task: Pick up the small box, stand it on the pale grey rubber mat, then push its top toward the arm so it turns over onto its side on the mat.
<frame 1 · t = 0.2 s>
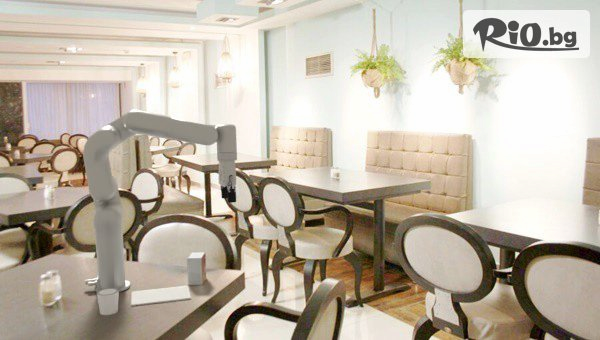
hand: (228, 200, 204), 30 cm above the table, tool pointing down, fingers open, 9 cm apart
mat: (160, 295, 187), on the table
shot glass: (109, 312, 173), on the table
small box: (197, 282, 201), on the table
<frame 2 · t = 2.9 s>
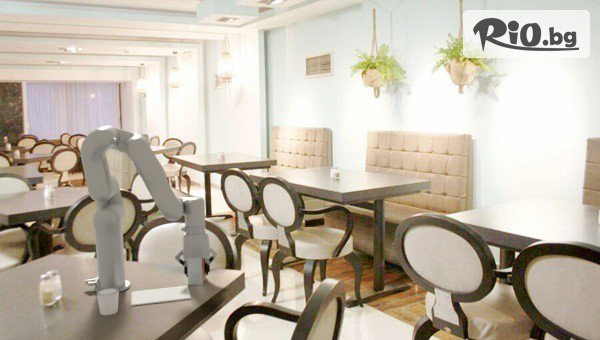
hand: (197, 274, 201), 3 cm above the table, tool pointing down, fingers closed on small box, 6 cm apart
small box: (197, 282, 201), on the table, touching gripper
everything else where it was.
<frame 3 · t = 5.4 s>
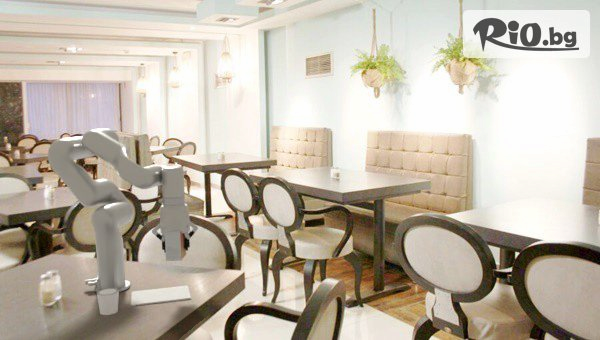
hand: (176, 250, 186), 16 cm above the table, tool pointing down, fingers closed on small box, 6 cm apart
small box: (176, 258, 187), point 13 cm above the table, touching gripper
everything else where it was.
when the fingers open (5 cm above the table, at t = 8.0 s): small box drops 1 cm, resting on mat.
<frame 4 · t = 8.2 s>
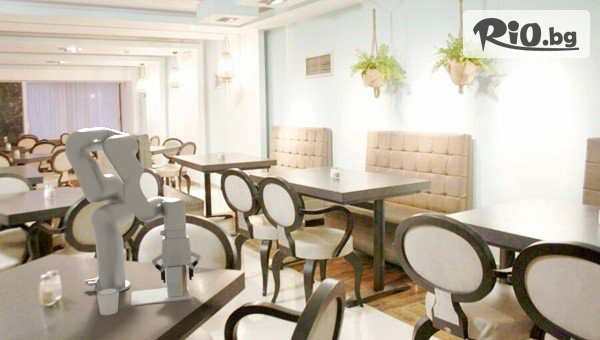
hand: (177, 280, 188), 5 cm above the table, tool pointing down, fingers open, 8 cm apart
small box: (177, 293, 189), resting on mat
everything else where it was.
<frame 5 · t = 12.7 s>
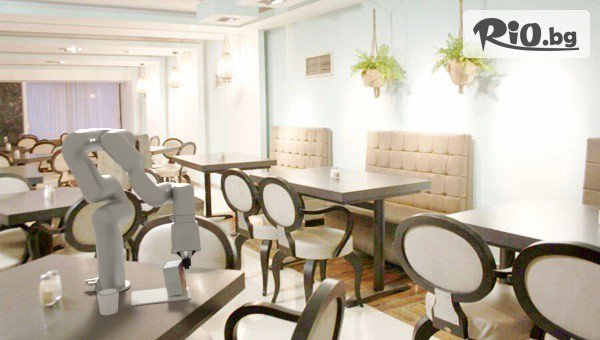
hand: (186, 268, 188), 9 cm above the table, tool pointing down, fingers closed
small box: (177, 292, 189), point 1 cm above the table, touching gripper, mat
everything else where it was.
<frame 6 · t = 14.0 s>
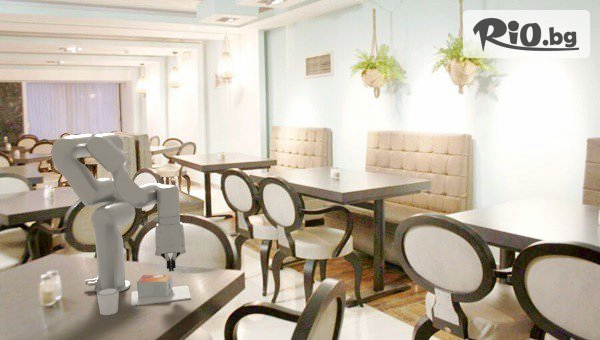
hand: (171, 270, 187), 9 cm above the table, tool pointing down, fingers closed
small box: (170, 285, 188), point 3 cm above the table, touching mat
everything else where it was.
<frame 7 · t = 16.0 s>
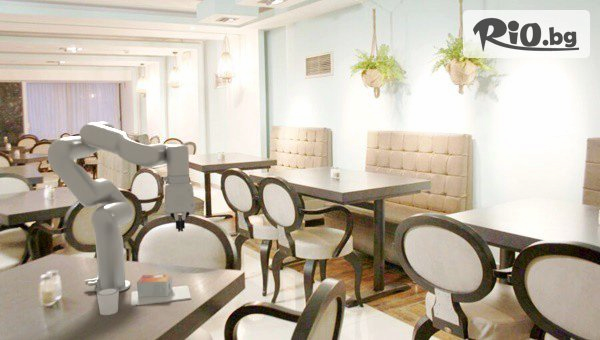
hand: (180, 230, 186), 23 cm above the table, tool pointing down, fingers closed
nothing on the table moved.
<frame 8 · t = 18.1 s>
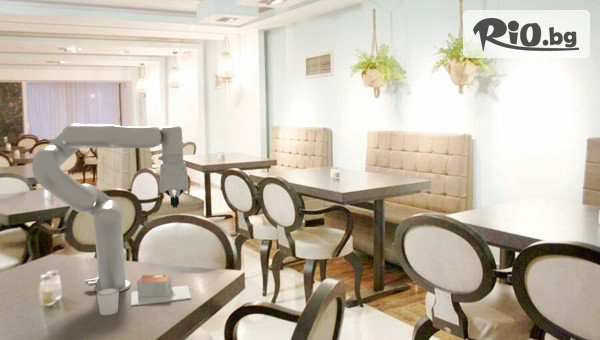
hand: (175, 207, 198), 29 cm above the table, tool pointing down, fingers closed
nothing on the table moved.
at the end: small box tilted 90°; small box inside the target area (1.2 cm from its centre), point 3.2 cm above the table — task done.
